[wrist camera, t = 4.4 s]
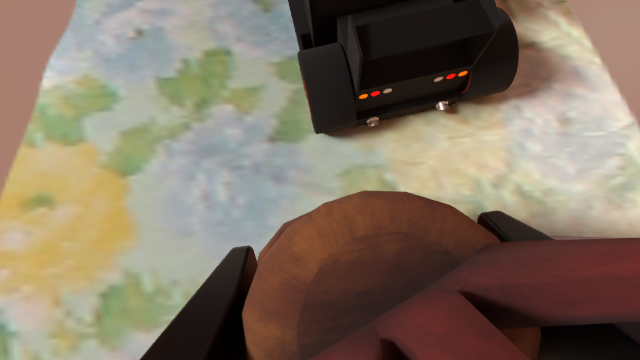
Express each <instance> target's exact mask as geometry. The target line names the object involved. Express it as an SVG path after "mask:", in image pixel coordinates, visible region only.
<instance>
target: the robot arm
mask: <svg viewBox="0 0 640 360" xmlns="http://www.w3.org/2000/svg"><path fill="white" fill-rule="evenodd" d="M477 223H478V224H479V225H481V226H482V227H484V228H485V229H487V230H488V231H489V232H491V233H492V234H494V235H495V236H496V237H497V238H498V239H499V241H500V242H501V243H503V242H521V241H541V240H556V239H554V238H552V237H550V236H548V235H546V234H544V233H542V232H540V231H538V230H536V229H534V228H532V227H530V226H528V225H526V224H525V223H523V222H521V221H519V220H517V219H515V218H513V217H511V216H509V215H507V214H505V213H503V212H501V211H490V212H483V213H481V214H479V216H478V221H477ZM257 267H258V263H257V260H256V257H255V254H254V250H253V248H252V247H251V246H241V247H235V248H233V249H232V250H231V251H230V252H229V253H228V254H227V255H226V257H225V258H224V259H223V260H222V261H221V263H220V264H219V265H218V266H217V267H216V269H215V270H214V271H213V272H212V273H211V275H210V276H209V277H208V278H207V279H206V281H205V282H204V283H203V284H202V285H201V287H200V288H199V289H198V290H197V291H196V293H195V294H194V295H193V296H192V297H191V299H190V300H189V301H188V302H187V303H186V305H185V306H184V307H183V308H182V309H181V311H180V312H179V313H178V314H177V315H176V317H175V318H174V319H173V320H172V321H171V323H170V324H169V325H168V326H167V327H166V329H165V330H164V331H163V332H162V333H161V335H160V336H159V337H158V338H157V339H156V341H155V342H154V343H153V344H152V345H151V347H150V348H149V349H148V350H147V351H146V353H145V354H144V355H143V356H142V357H141V359H140V360H246V350H245V341H244V332H243V322H242V313H241V312H242V310H243V307H244V304H245V301H246V298H247V296H248V293H249V290H250V287H251V284H252V281H253V279H254V276H255V273H256V270H257ZM540 329H541V334H542V336H541V341H540V347H539V353H538V359H537V360H640V321H636V322H619V323H602V324H584V325H567V326H549V327H540Z"/></svg>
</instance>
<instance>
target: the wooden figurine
mask: <svg viewBox="0 0 640 360" xmlns="http://www.w3.org/2000/svg"><path fill="white" fill-rule="evenodd" d="M257 263H258V267H257V270H256V273H255V276H254V279H253V281H252V284H251V287H250V290H249V293H248V296H247V298H246V301H245V304H244V307H243V310H242V312H241V313H242V322H243V332H244V341H245V350H246V360H537V359H538V353H539V347H540V341H541V336H542V334H541V329H540V327H549V326H567V325H584V324H602V323H619V322H636V321H640V238H613V239H577V240H541V241H521V242H503V243H501V242H500V241H499V239H498V238H497V237H496V236H495V235H494V234H492V233H491V232H489V231H488V230H487V229H485V228H484V227H482V226H481V225H479V224H478V223H476V222H475V221H473V220H472V219H470V218H469V217H467V216H466V215H465V214H463V213H462V212H460V211H459V210H457V209H456V208H454V207H453V206H450V205H448V204H445V203H441V202H438V201H435V200H431V199H428V198H425V197H421V196H418V195H415V194H411V193H408V192H393V191H361V192H358V193H355V194H351V195H348V196H345V197H342V198H339V199H336V200H333V201H330V202H326V203H324V204H322V205H321V206H319V207H317V208H316V209H314V210H313V211H311V212H309V213H306V214H304V215H302V216H300V217H297V218H295V219H293V220H291V221H288V222H286V223H284V224H283V225H282V226H281V228H280V229H279V230H278V231H277V233H276V234H275V235H274V236H273V237H272V239H271V240H270V241H269V242H268V244H267V245H266V246H265V247H264V249H263V250H262V251H261V252H260V254H259V257H258V260H257Z"/></svg>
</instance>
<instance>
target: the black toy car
mask: <svg viewBox="0 0 640 360" xmlns="http://www.w3.org/2000/svg"><path fill="white" fill-rule="evenodd" d="M288 2H289V6H290V11H291V15H292V19H293V23H294V28H295V32H296V36H297V41H298V45H299V49H300V51H299V52H298V61H299V66H300V71H301V75H302V80H303V84H304V89H305V93H306V97H307V100H308V104H309V108H310V113H311V119H312V123H313V127H314V131H315V133H316V134H319V133H324V132H328V131H332V130H337V129H341V128H346V127H350V126H354V125H356V126H358V125H362V124H367V123H368V125H369V126H374V125H378V124H379V122H378V121H380V120H384V119H389V118H393V117H397V116H402V115H406V114H410V113H415V112H419V111H424V110H428V109H432V108H437V109H438V111H439V110H444V109H448V108H449V107H448V105H450V104H454V103H456V102H457V101H458V99H459V100H462V101H463V100H468V99H473V98H477V97H481V96H486V95H490V94H494V93H499V92H503V91H505V90H506V89H507V88H508V87H509V86H510V85H511V84H512V82H513V80H514V78H515V75H516V72H517V67H518V59H519V47H518V39H517V34H516V31H515V28H514V25H513V23H512V21H511V19H510V17H509V16H508V14H507V13H506V12H505V11H504V10H502V9H501V8H498V7H496V4H495V1H494V0H288Z"/></svg>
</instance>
